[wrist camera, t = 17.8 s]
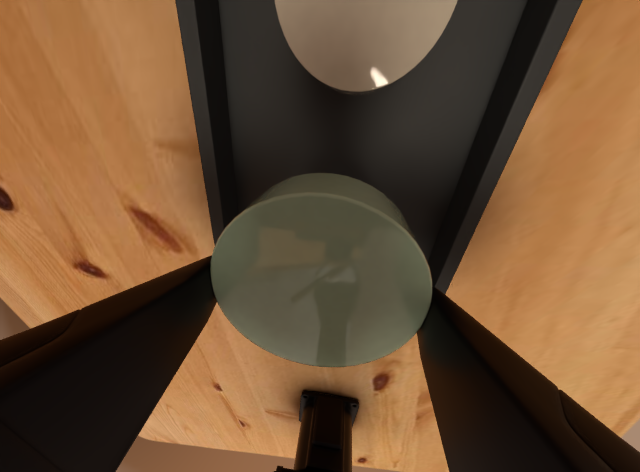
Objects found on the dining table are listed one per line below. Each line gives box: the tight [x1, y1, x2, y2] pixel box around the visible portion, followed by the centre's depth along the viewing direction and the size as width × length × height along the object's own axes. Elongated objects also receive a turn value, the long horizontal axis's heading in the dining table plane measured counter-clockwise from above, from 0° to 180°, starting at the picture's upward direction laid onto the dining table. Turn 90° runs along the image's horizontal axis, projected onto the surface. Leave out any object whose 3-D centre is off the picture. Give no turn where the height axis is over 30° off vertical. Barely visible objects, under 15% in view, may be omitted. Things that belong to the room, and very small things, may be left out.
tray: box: [175, 0, 582, 294], centre depth 11 cm, size 24×15×3 cm, turn 175°
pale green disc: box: [210, 173, 432, 367], centre depth 8 cm, size 7×7×2 cm
